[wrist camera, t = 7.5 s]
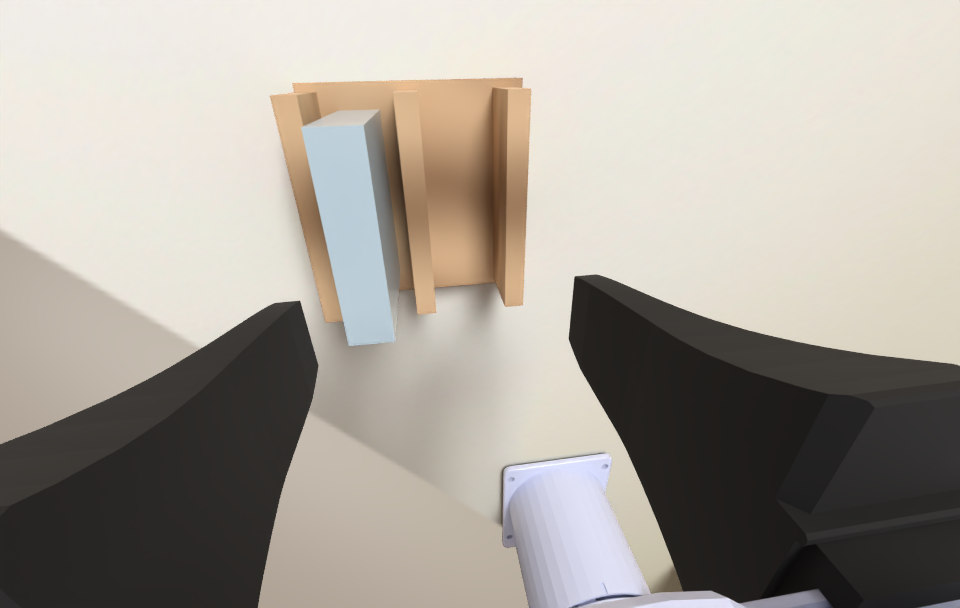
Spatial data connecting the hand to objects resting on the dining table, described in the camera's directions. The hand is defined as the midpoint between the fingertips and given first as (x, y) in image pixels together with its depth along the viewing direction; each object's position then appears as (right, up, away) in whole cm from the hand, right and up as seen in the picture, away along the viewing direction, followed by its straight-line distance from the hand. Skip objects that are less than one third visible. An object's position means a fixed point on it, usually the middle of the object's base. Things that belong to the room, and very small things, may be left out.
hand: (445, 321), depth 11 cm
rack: (-2, +6, +8) cm, 10 cm away
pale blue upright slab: (-4, +5, +7) cm, 9 cm away
